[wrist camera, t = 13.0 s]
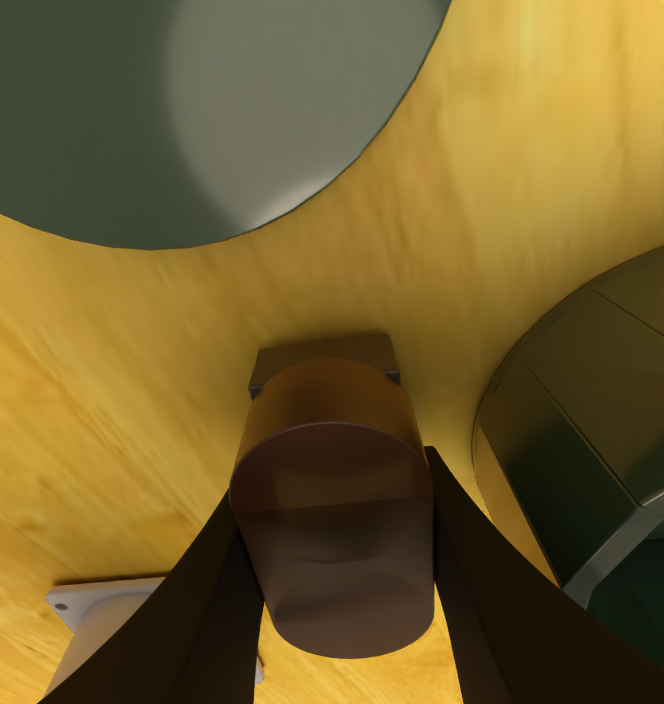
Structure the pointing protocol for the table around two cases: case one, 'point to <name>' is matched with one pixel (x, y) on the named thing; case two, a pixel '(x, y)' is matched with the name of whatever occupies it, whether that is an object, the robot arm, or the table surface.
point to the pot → (587, 449)
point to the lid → (193, 109)
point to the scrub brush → (336, 498)
